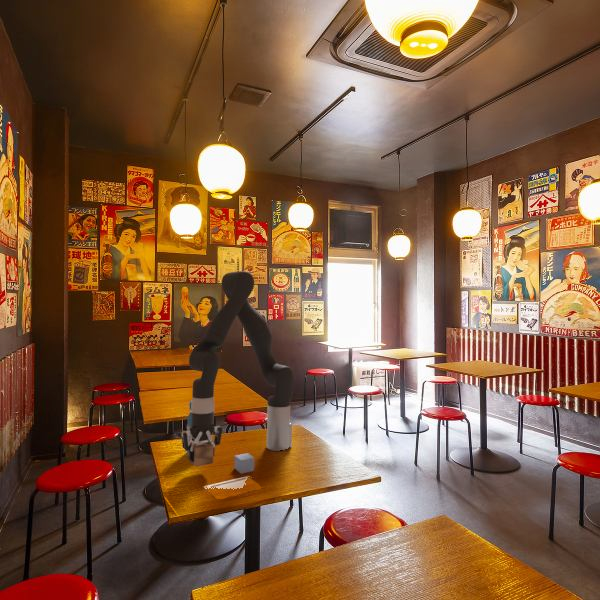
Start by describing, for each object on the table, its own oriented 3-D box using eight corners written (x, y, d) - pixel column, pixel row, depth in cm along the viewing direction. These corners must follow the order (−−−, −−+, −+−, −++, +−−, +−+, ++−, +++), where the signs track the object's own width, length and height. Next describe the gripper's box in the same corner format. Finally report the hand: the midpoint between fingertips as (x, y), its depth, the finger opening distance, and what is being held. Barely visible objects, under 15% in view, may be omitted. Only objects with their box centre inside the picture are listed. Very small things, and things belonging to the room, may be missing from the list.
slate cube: (247, 467, 151) (247, 453, 151) (253, 472, 147) (254, 457, 147) (234, 469, 149) (234, 455, 149) (240, 475, 144) (241, 460, 144)
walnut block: (206, 457, 148) (206, 440, 148) (213, 463, 143) (213, 445, 143) (189, 460, 144) (190, 443, 144) (195, 466, 139) (196, 448, 139)
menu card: (248, 476, 143) (248, 475, 143) (264, 489, 134) (264, 487, 134) (203, 487, 134) (203, 486, 134) (216, 502, 125) (217, 500, 125)
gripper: (218, 405, 151) (216, 452, 151) (178, 409, 143) (176, 460, 143) (227, 409, 144) (225, 459, 144) (185, 415, 136) (183, 467, 136)
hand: (201, 459), depth 143 cm, fingers closed on walnut block, 6 cm apart
